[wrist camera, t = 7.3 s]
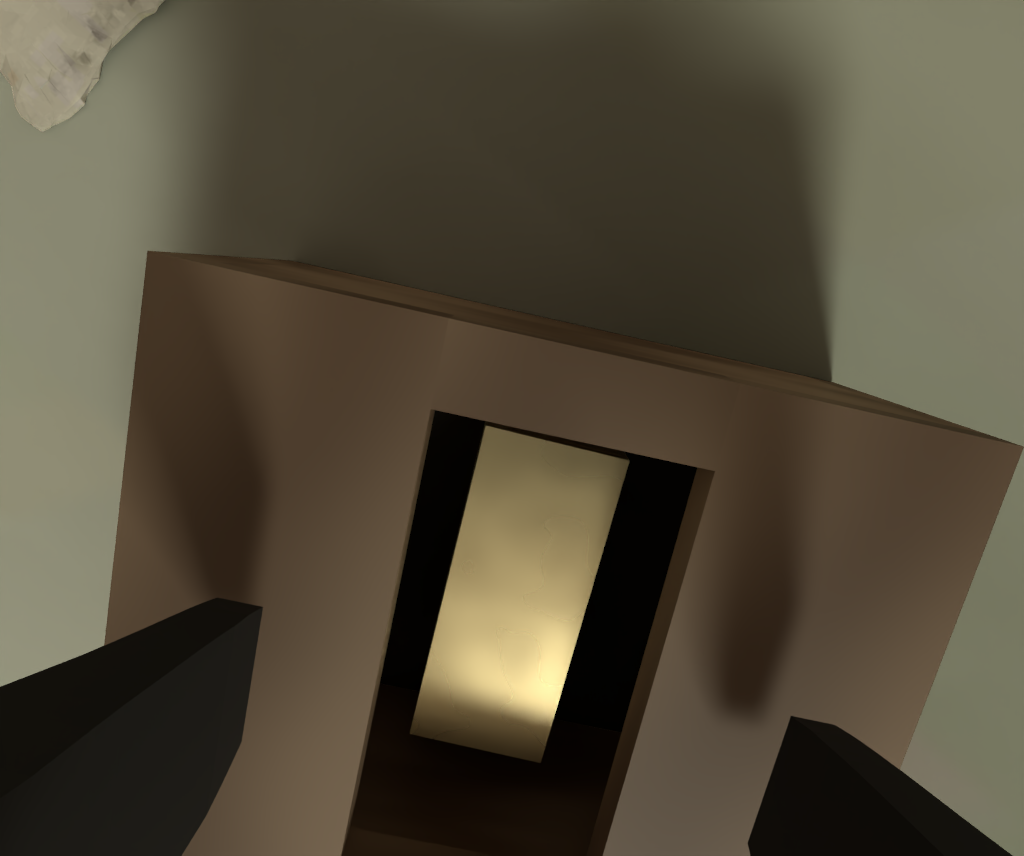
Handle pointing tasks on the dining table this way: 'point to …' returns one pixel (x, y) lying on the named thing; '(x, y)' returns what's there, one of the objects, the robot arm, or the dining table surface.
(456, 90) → the dining table surface
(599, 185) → the dining table surface
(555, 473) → the gold metal block
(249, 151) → the dining table surface
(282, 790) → the box
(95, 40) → the arrowhead
